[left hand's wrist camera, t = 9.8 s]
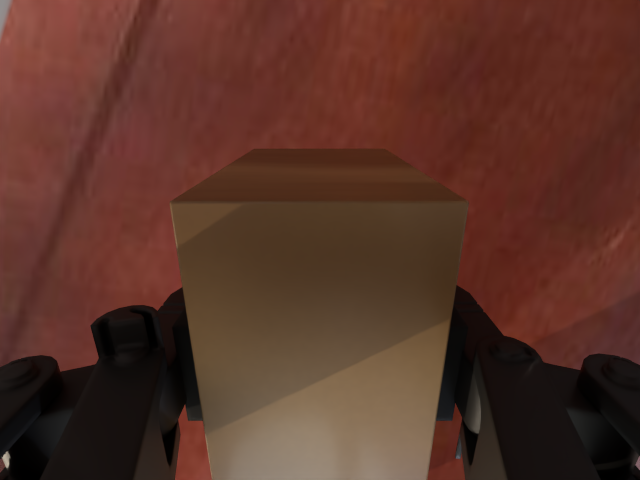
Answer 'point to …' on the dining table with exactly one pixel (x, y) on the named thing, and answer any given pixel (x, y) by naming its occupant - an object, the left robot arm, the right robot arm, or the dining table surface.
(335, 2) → the dining table surface
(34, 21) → the dining table surface
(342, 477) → the bar
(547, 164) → the dining table surface
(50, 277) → the dining table surface
